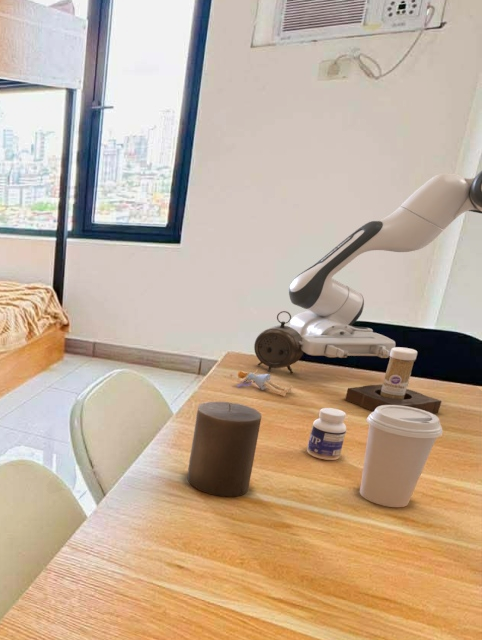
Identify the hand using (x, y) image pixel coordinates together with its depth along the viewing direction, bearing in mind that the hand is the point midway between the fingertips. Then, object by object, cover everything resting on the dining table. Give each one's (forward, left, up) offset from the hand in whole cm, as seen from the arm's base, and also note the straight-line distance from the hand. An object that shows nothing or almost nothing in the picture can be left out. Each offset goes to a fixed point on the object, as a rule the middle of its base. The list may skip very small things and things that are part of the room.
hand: (365, 354), depth 150 cm
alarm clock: (+8, -17, -9) cm, 21 cm away
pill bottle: (+38, +29, -9) cm, 49 cm away
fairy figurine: (+22, -6, -9) cm, 24 cm away
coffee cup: (+42, +45, -9) cm, 62 cm away
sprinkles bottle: (+3, +12, -9) cm, 15 cm away
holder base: (+3, +12, -9) cm, 15 cm away
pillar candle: (+65, +34, -9) cm, 74 cm away
